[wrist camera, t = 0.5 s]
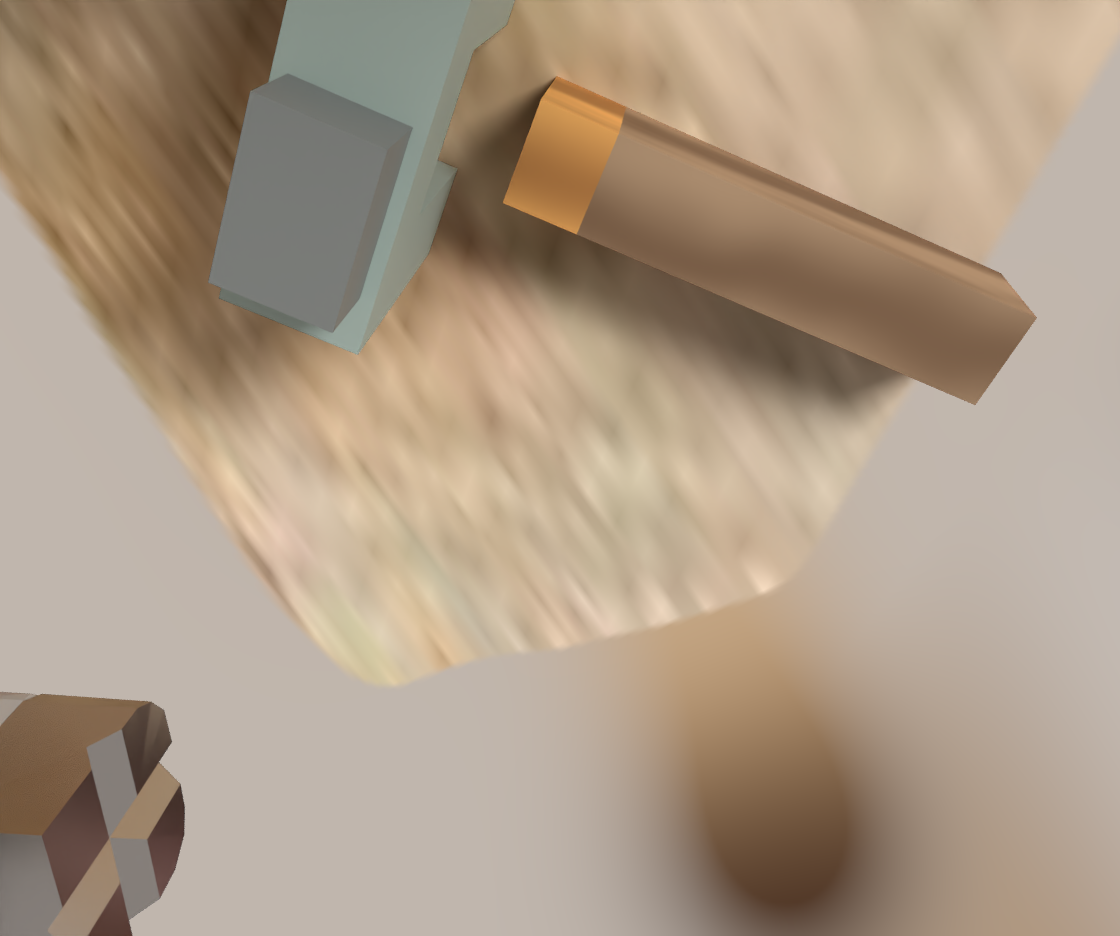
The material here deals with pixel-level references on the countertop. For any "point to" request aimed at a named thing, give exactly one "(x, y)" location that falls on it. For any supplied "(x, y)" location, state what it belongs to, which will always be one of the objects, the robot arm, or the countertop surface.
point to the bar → (765, 242)
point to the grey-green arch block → (346, 161)
